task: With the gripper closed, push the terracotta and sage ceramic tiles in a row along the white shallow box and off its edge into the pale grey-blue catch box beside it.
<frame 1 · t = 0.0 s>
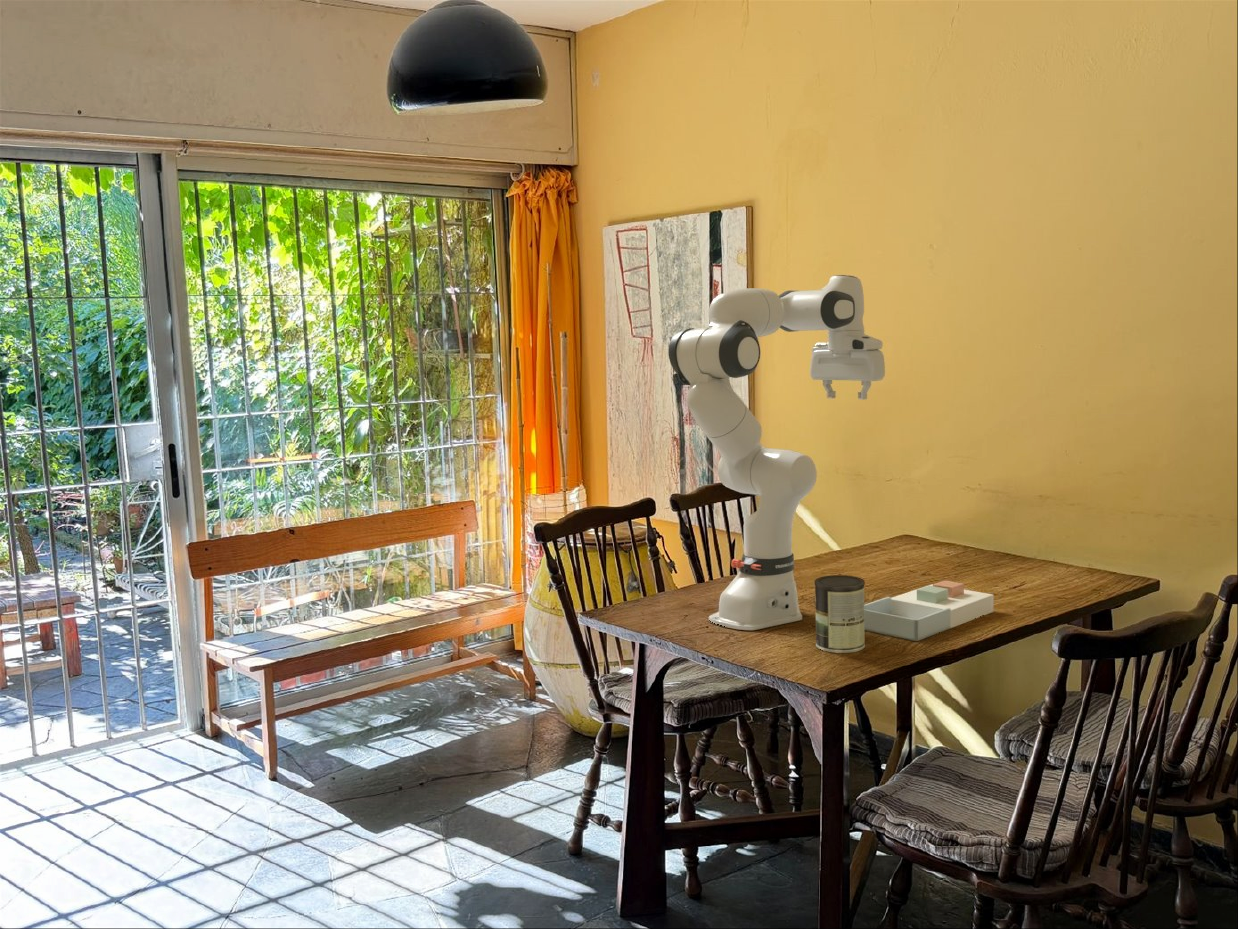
hand: (846, 398, 279), 48 cm above the table, tool pointing down, fingers open, 8 cm apart
coffee can: (840, 647, 238), on the table
tile terracotta: (948, 594, 261), point 4 cm above the table, touching white shallow box
catch box: (902, 628, 249), on the table
tile sage: (932, 599, 257), point 4 cm above the table, touching white shallow box
white shallow box: (941, 613, 260), on the table
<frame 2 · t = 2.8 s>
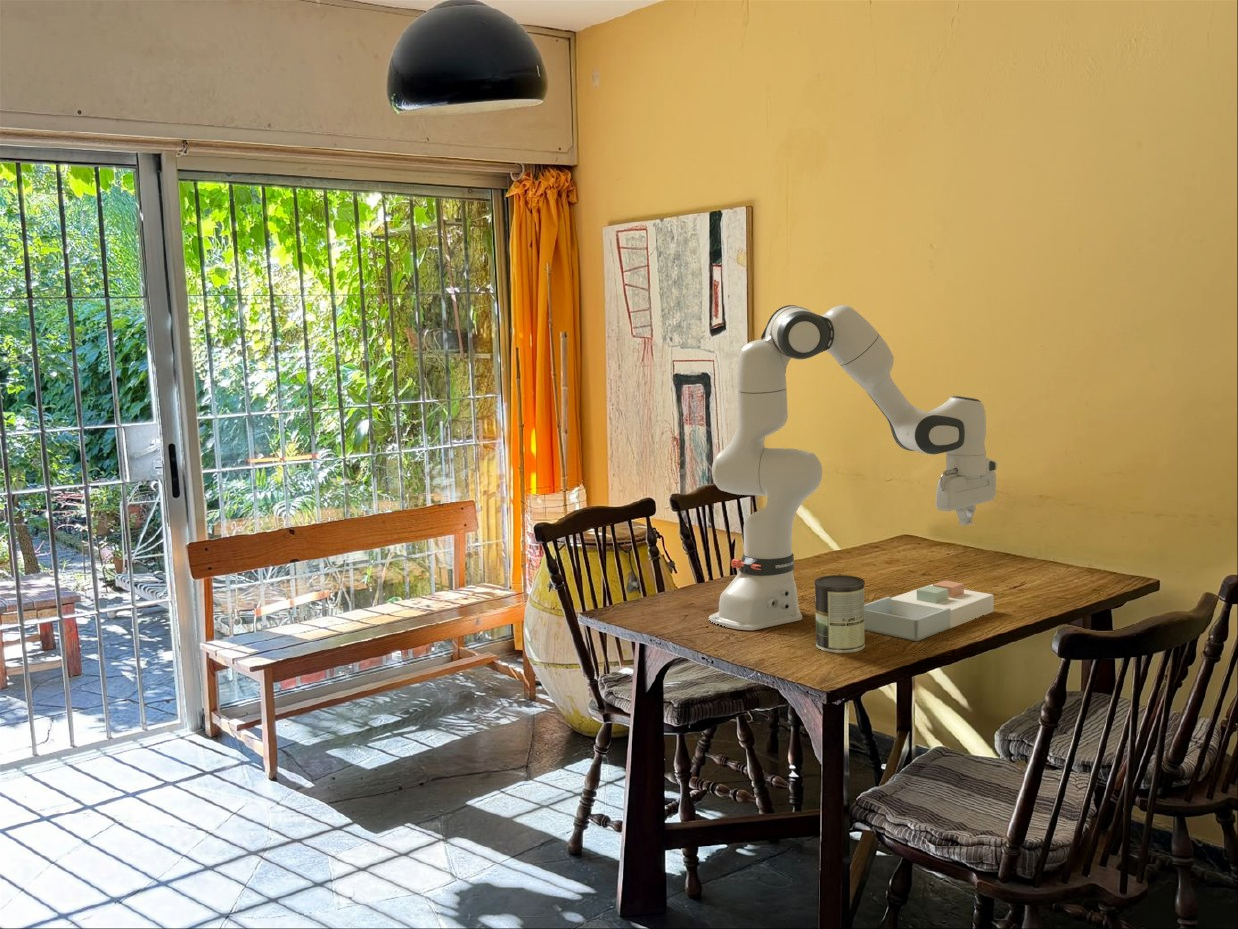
hand: (965, 524, 264), 19 cm above the table, tool pointing down, fingers closed
nothing on the table moved.
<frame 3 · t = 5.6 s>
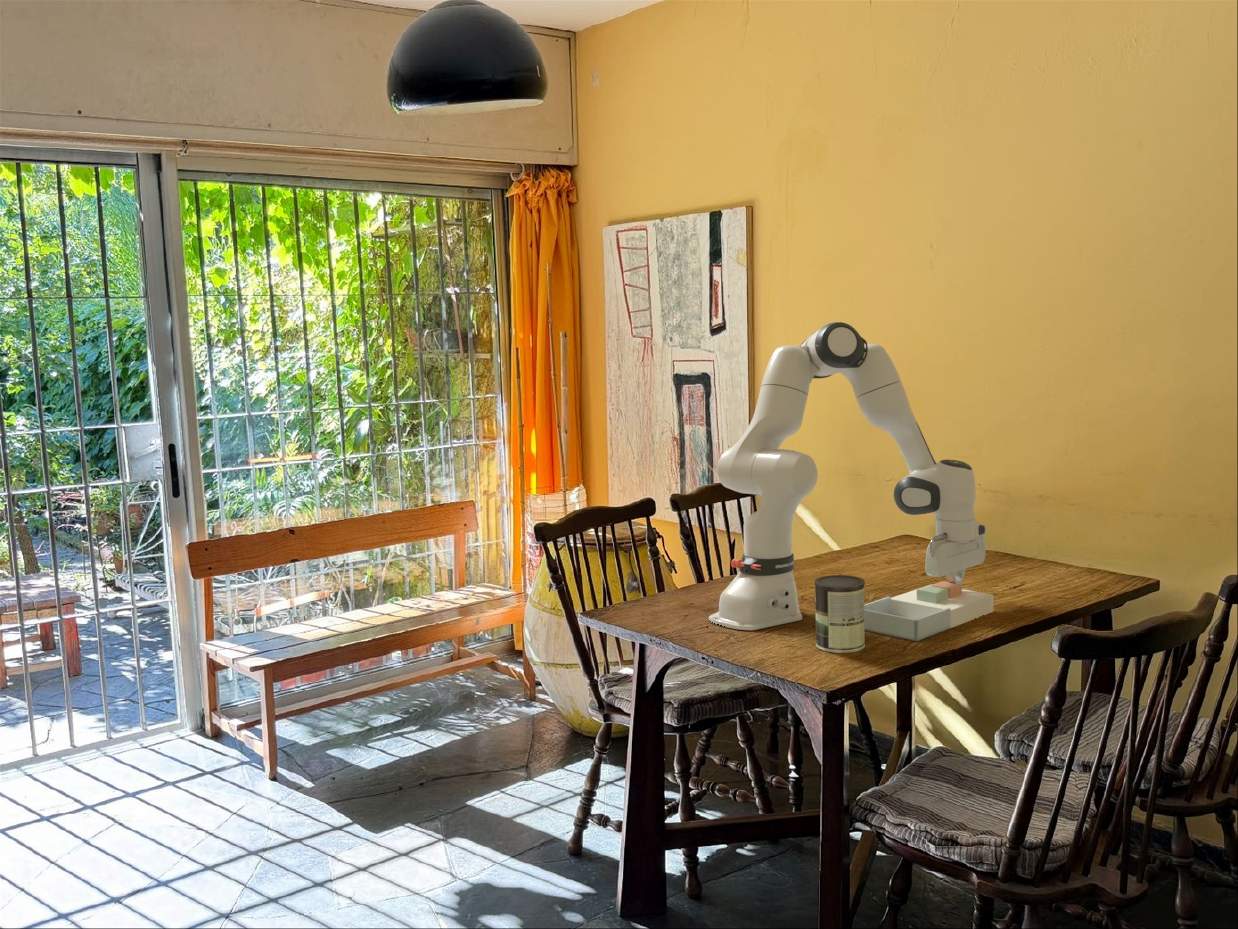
hand: (955, 588, 263), 5 cm above the table, tool pointing down, fingers closed
tile terracotta: (946, 594, 260), point 4 cm above the table, touching gripper, white shallow box
everything else where it was.
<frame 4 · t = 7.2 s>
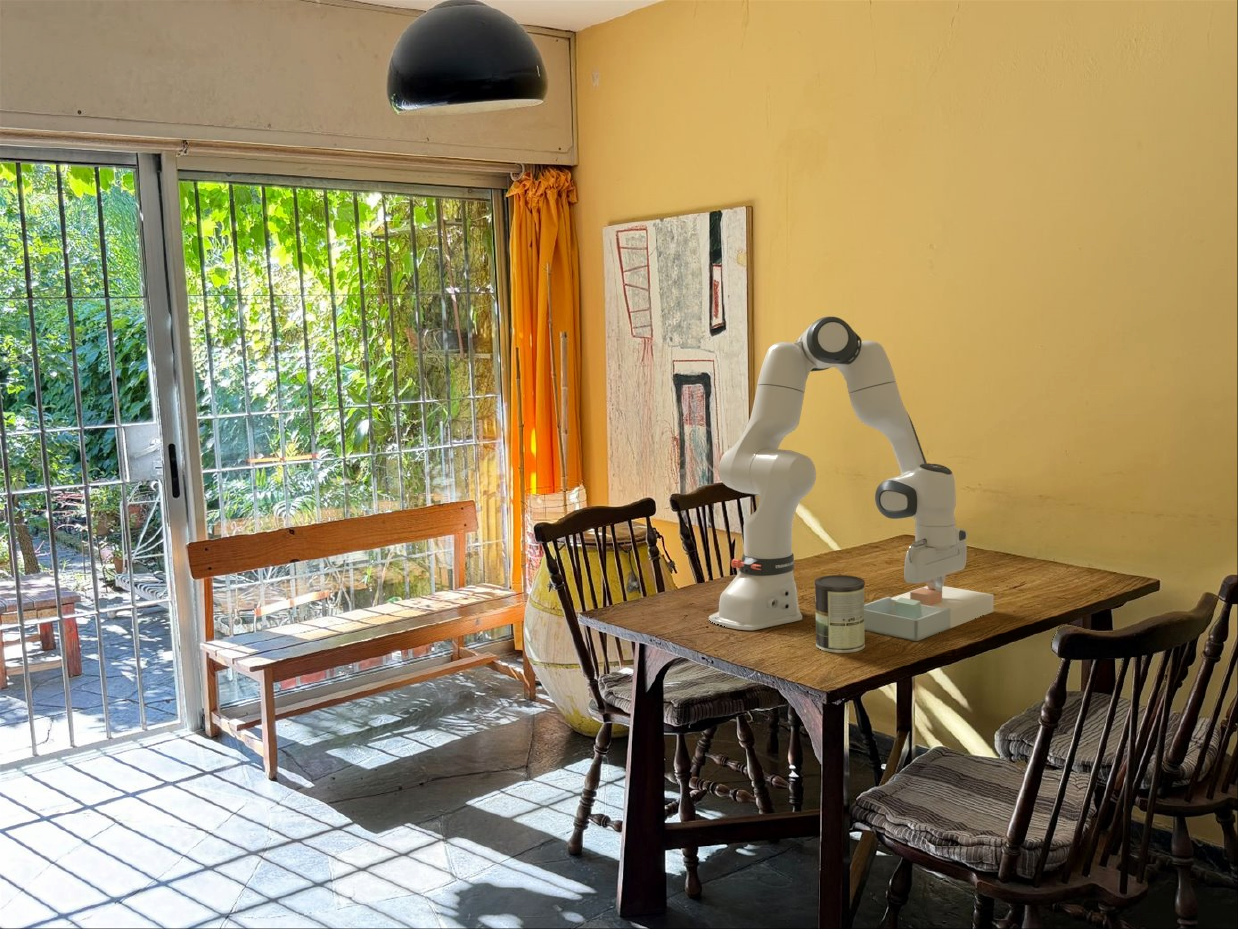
hand: (935, 595, 258), 5 cm above the table, tool pointing down, fingers closed
tile terracotta: (926, 602, 255), point 4 cm above the table, touching gripper
tile sage: (911, 609, 251), point 3 cm above the table, tilted 101°, touching catch box
everything else where it was.
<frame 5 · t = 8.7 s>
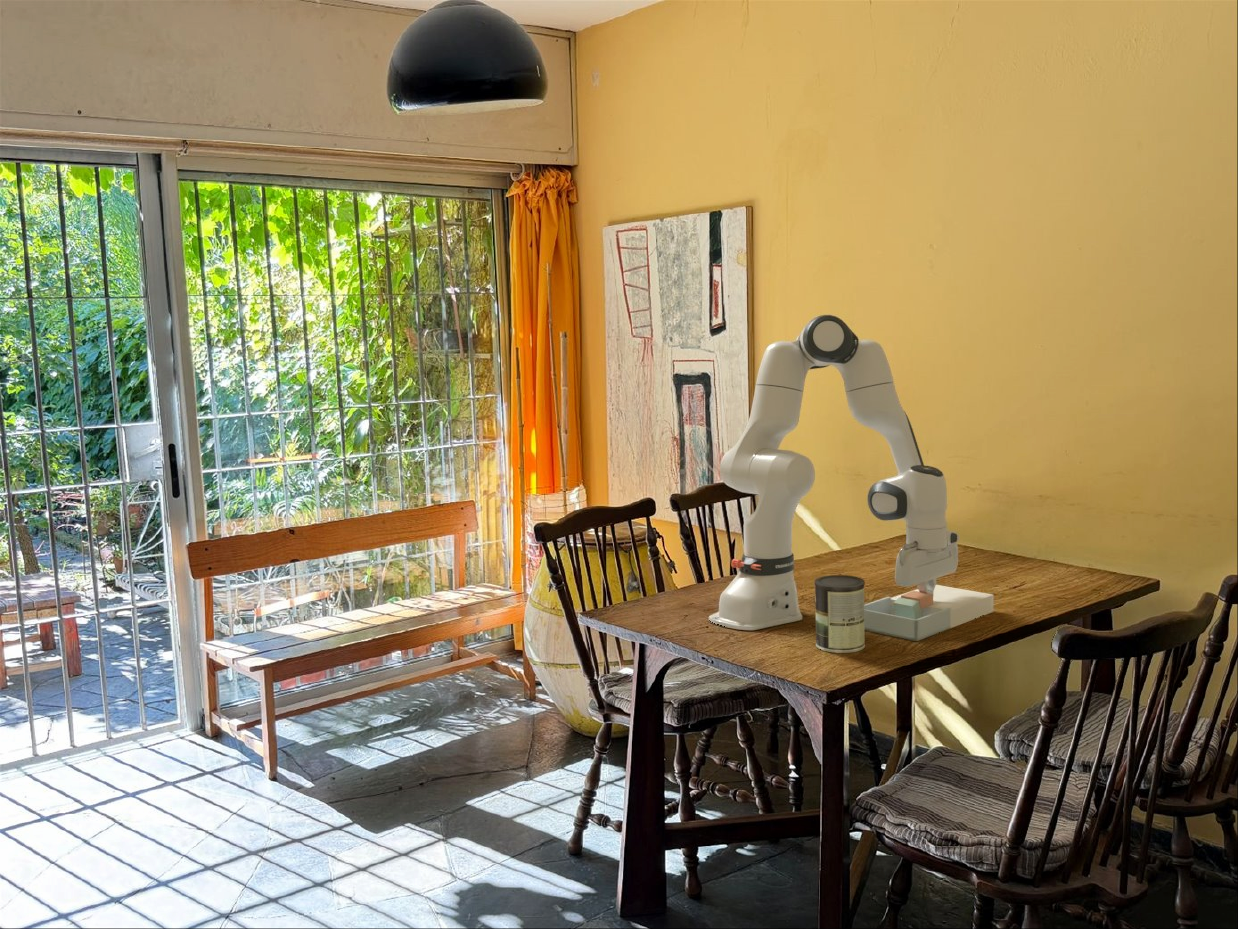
hand: (926, 598, 255), 5 cm above the table, tool pointing down, fingers closed
tile terracotta: (917, 605, 253), point 4 cm above the table, touching gripper, tile sage
tile sage: (910, 609, 251), point 4 cm above the table, tilted 108°, touching catch box, tile terracotta
everything else where it was.
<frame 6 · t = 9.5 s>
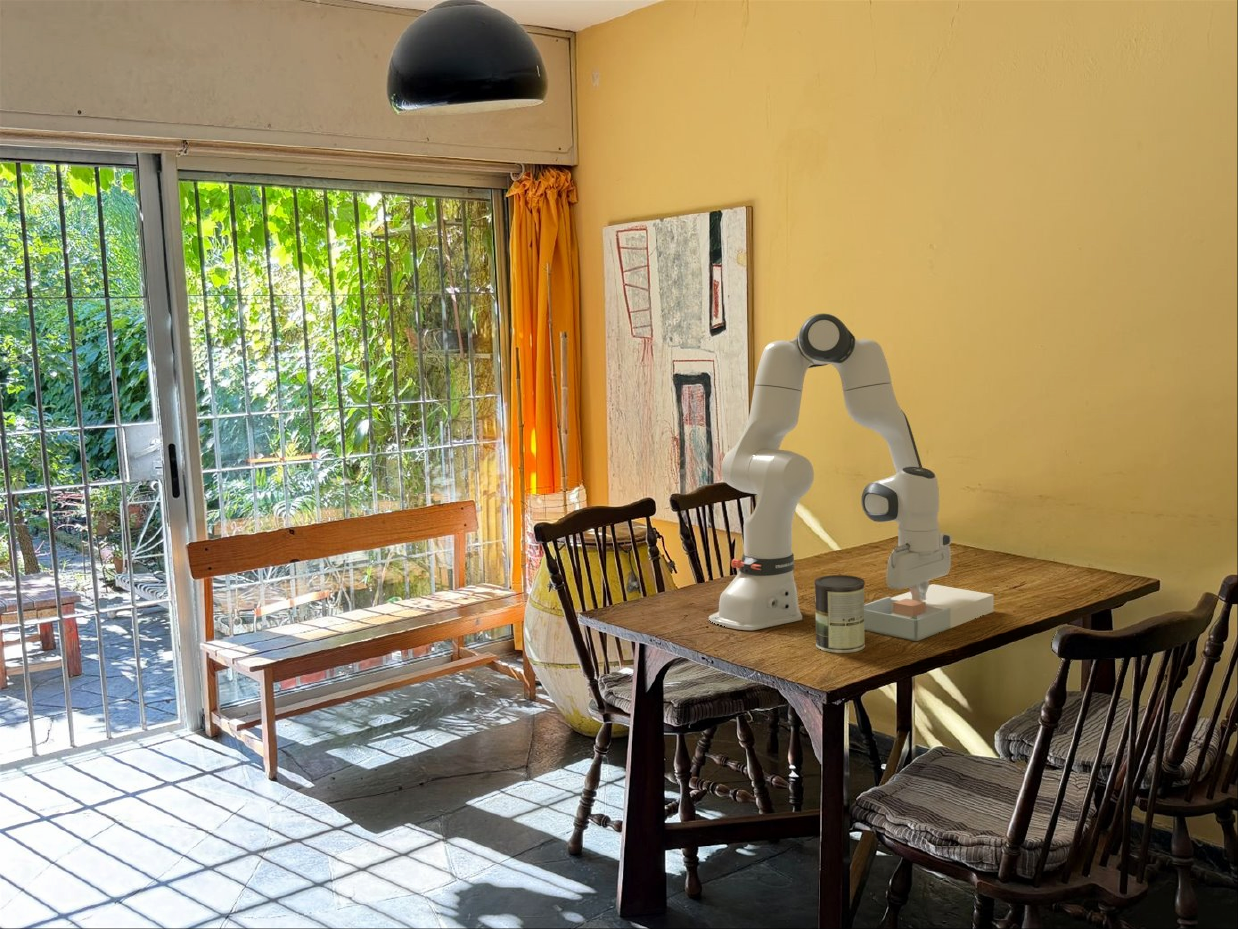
hand: (918, 601, 253), 5 cm above the table, tool pointing down, fingers closed
tile terracotta: (909, 613, 251), point 3 cm above the table, touching gripper, tile sage
tile sage: (900, 615, 249), point 3 cm above the table, tilted 180°, touching catch box, tile terracotta
everything else where it was.
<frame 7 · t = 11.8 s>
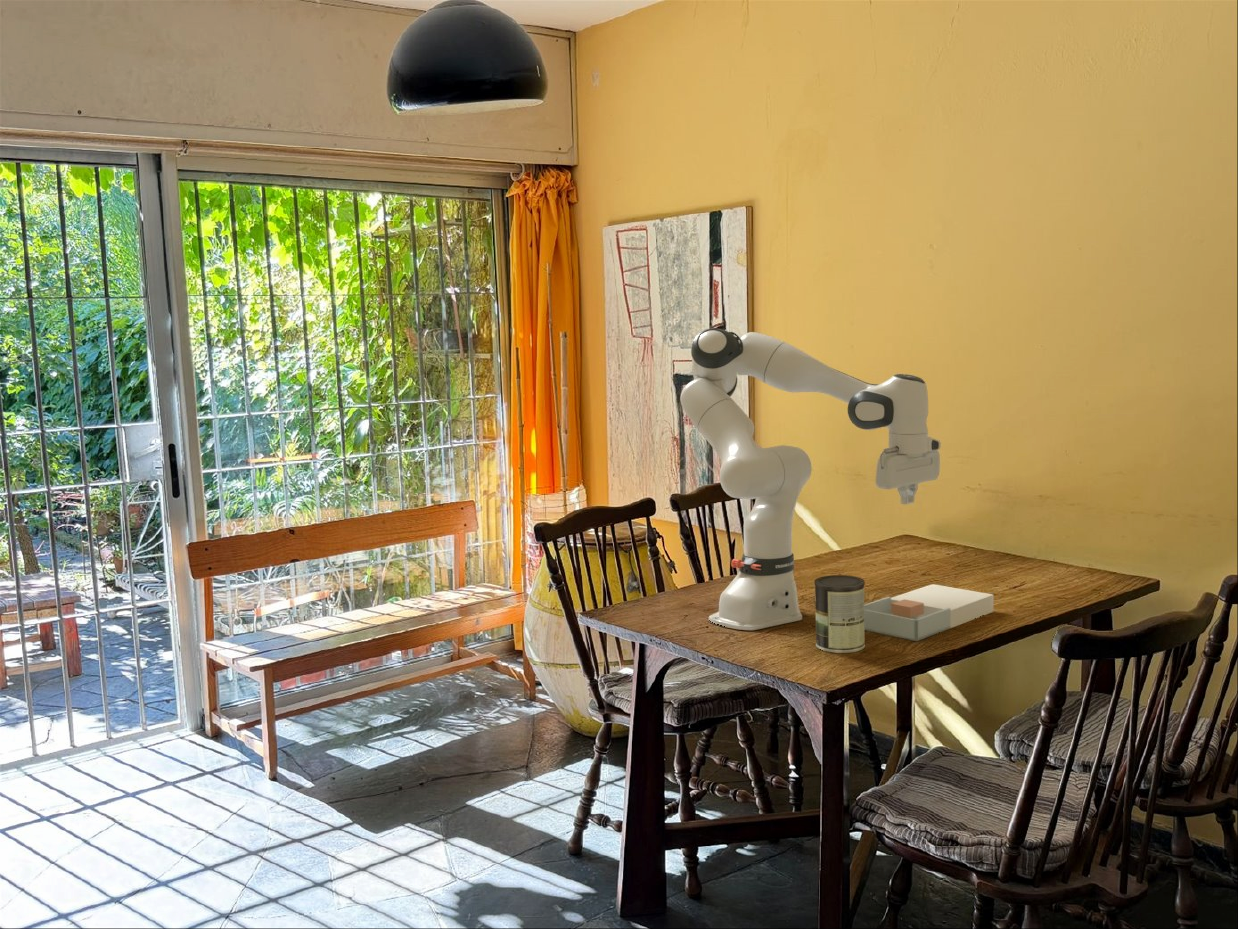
hand: (907, 503, 265), 24 cm above the table, tool pointing down, fingers closed
tile terracotta: (907, 614, 250), point 3 cm above the table, touching tile sage
everything else where it was.
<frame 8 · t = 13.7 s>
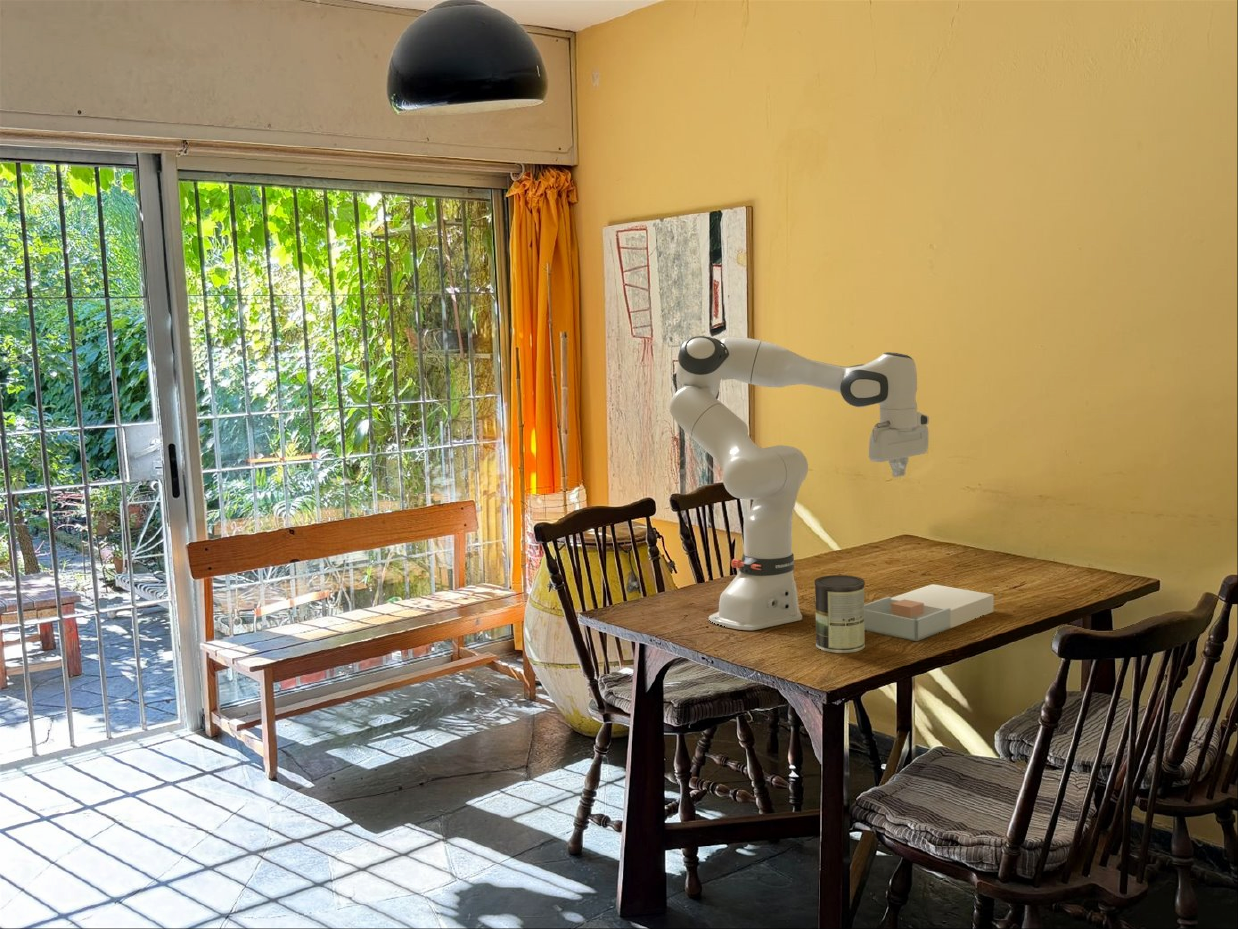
hand: (898, 476, 276), 29 cm above the table, tool pointing down, fingers closed
nothing on the table moved.
at the end: tile sage inside the target area (1.0 cm from its centre), point 2.9 cm above the table; tile terracotta inside the target area (1.4 cm from its centre), point 2.9 cm above the table; coffee can moved 0.2 cm from its start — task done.
